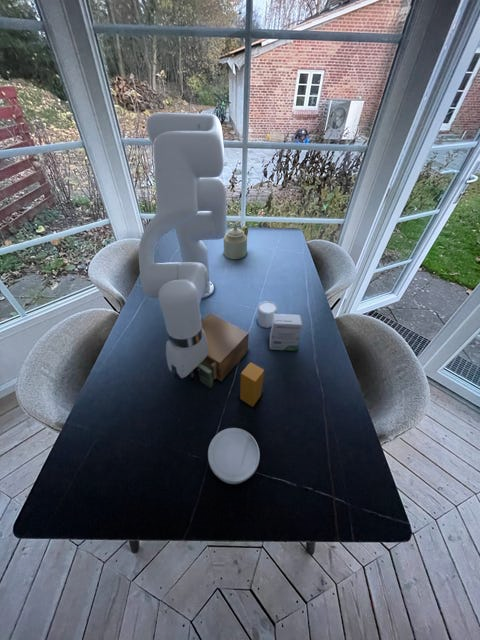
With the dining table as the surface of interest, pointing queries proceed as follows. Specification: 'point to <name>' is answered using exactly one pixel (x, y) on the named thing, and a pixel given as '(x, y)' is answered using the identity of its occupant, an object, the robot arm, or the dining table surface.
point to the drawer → (208, 371)
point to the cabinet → (224, 343)
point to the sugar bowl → (236, 242)
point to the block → (251, 384)
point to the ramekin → (233, 455)
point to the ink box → (285, 331)
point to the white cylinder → (266, 313)
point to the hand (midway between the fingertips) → (193, 379)
